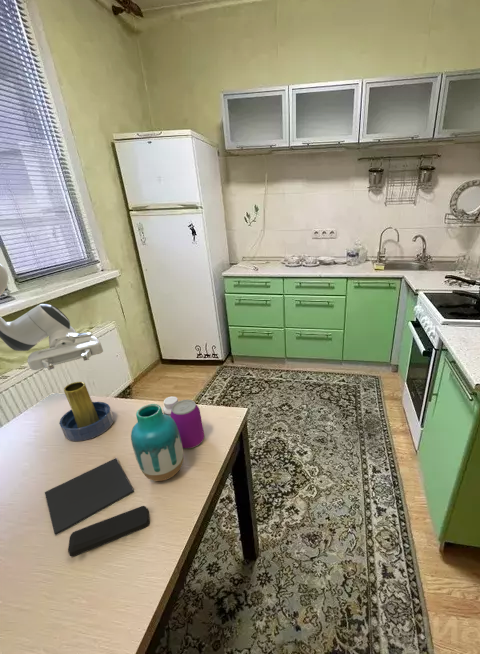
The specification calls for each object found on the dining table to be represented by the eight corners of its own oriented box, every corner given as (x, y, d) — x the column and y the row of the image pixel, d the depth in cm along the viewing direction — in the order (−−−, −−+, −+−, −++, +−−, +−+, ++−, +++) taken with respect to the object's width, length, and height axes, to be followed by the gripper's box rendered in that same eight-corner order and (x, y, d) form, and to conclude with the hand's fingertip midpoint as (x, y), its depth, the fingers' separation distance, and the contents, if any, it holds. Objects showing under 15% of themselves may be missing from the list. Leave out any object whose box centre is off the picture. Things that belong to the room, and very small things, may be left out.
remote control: (148, 509, 73) (70, 537, 67) (147, 503, 72) (68, 531, 66) (150, 527, 69) (68, 558, 63) (149, 521, 68) (65, 552, 62)
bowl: (69, 448, 90) (64, 436, 88) (61, 426, 99) (55, 414, 97) (119, 427, 98) (115, 415, 96) (107, 408, 107) (103, 396, 105)
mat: (55, 535, 67) (54, 533, 67) (45, 493, 77) (44, 492, 76) (134, 491, 77) (133, 490, 76) (116, 459, 86) (116, 457, 86)
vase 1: (76, 434, 95) (60, 394, 88) (79, 422, 100) (63, 383, 93) (100, 429, 97) (85, 389, 90) (101, 417, 102) (87, 378, 95)
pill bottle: (172, 417, 101) (166, 394, 97) (187, 418, 100) (182, 395, 96) (163, 429, 96) (157, 404, 92) (180, 430, 96) (174, 405, 92)
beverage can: (194, 453, 87) (186, 417, 82) (171, 446, 90) (162, 411, 84) (210, 435, 94) (204, 401, 88) (188, 429, 96) (181, 395, 91)
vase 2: (136, 470, 82) (116, 409, 74) (176, 450, 88) (162, 391, 80) (152, 496, 75) (132, 432, 66) (194, 472, 81) (180, 411, 73)
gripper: (24, 347, 103) (23, 363, 93) (95, 331, 113) (101, 344, 103) (32, 364, 106) (31, 382, 96) (101, 347, 116) (107, 361, 106)
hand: (68, 362), depth 100 cm, fingers open, 8 cm apart
